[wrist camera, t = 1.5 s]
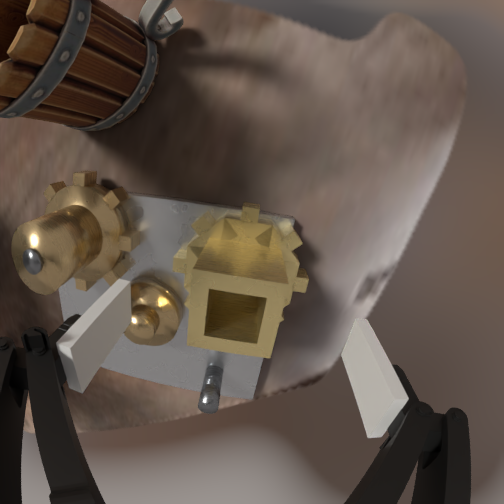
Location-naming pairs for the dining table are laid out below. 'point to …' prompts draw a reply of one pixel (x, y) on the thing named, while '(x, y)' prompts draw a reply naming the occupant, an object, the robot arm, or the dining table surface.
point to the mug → (79, 60)
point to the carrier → (132, 279)
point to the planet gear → (239, 281)
